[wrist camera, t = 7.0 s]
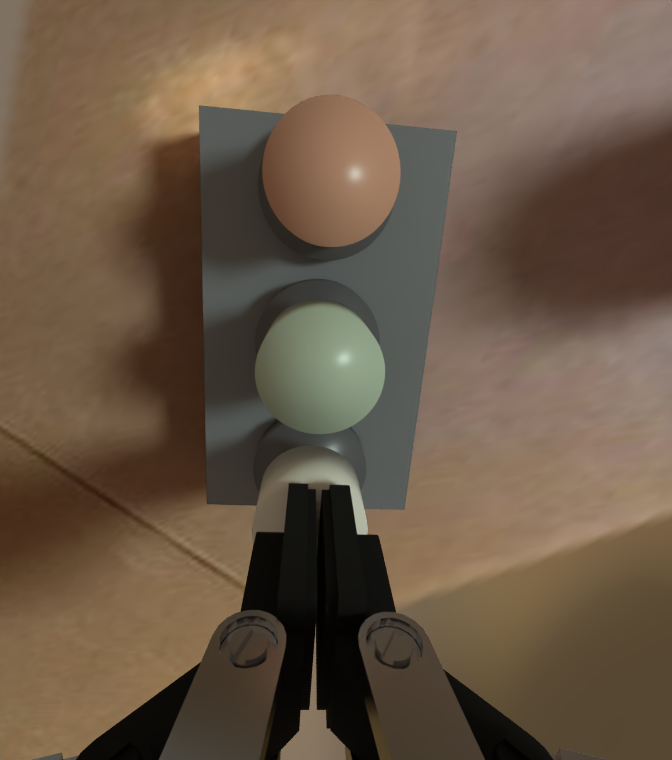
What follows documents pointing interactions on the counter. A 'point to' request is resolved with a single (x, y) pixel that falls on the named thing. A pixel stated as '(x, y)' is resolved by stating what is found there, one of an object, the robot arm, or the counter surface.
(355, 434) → the button panel
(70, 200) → the counter surface
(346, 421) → the sage button
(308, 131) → the peach button
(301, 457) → the cream button
